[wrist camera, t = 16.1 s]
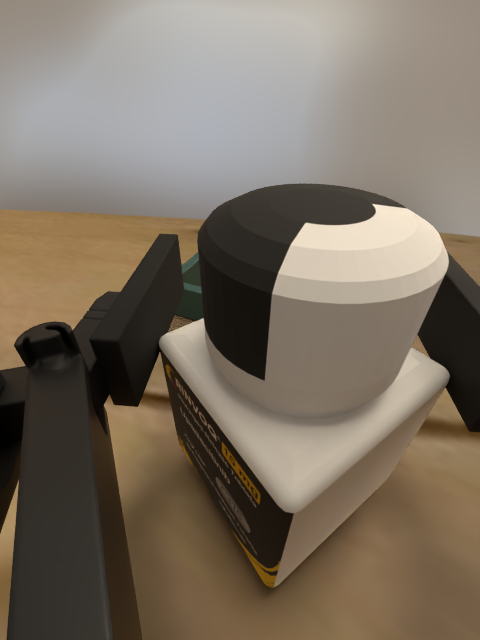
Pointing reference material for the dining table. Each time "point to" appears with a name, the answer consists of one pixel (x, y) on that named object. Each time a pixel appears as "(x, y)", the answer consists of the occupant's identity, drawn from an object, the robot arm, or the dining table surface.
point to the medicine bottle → (304, 360)
